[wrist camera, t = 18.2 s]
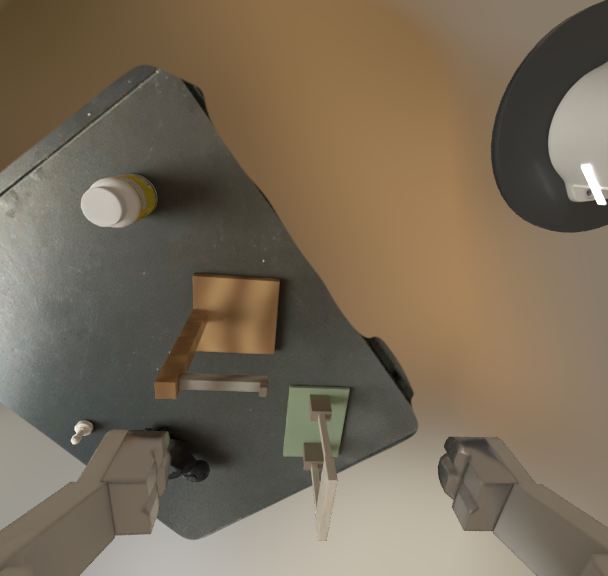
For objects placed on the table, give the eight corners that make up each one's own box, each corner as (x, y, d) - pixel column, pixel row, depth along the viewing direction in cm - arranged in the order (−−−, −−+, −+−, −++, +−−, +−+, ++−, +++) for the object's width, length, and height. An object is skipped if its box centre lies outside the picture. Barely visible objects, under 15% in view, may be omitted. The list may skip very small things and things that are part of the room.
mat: (349, 387, 58) (349, 389, 57) (337, 454, 63) (338, 457, 62) (289, 385, 56) (290, 387, 56) (283, 453, 62) (283, 456, 61)
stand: (279, 278, 50) (281, 343, 33) (274, 350, 54) (273, 439, 37) (194, 273, 48) (151, 337, 32) (195, 346, 53) (158, 437, 36)
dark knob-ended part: (202, 472, 62) (194, 506, 56) (133, 444, 59) (117, 478, 53) (220, 449, 60) (214, 481, 54) (150, 419, 57) (135, 450, 51)
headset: (328, 395, 57) (346, 477, 43) (320, 451, 62) (333, 543, 47) (309, 394, 57) (320, 477, 42) (302, 451, 61) (310, 543, 47)
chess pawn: (82, 433, 57) (71, 450, 54) (73, 422, 56) (61, 439, 53) (96, 429, 57) (85, 445, 54) (88, 417, 56) (76, 434, 53)
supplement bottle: (121, 218, 45) (82, 235, 36) (109, 175, 43) (64, 181, 34) (163, 214, 45) (134, 230, 36) (153, 171, 43) (120, 176, 34)
